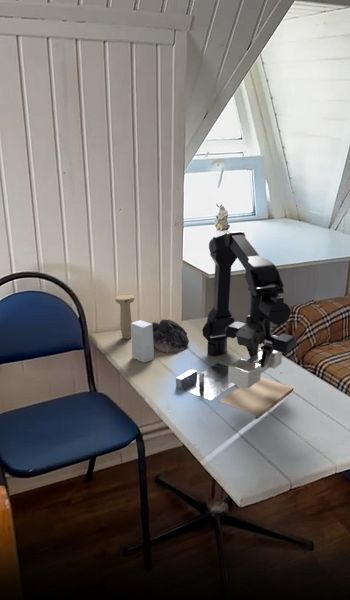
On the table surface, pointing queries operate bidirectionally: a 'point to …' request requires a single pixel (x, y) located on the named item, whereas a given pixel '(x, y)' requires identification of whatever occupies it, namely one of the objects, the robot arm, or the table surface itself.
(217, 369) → the plate
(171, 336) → the crystal cluster
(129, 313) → the handle
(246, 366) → the white open-top bracket
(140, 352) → the skincare box
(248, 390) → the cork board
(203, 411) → the table surface
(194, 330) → the table surface
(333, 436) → the table surface
